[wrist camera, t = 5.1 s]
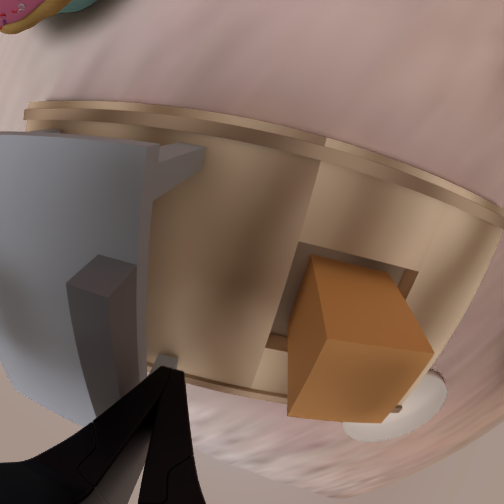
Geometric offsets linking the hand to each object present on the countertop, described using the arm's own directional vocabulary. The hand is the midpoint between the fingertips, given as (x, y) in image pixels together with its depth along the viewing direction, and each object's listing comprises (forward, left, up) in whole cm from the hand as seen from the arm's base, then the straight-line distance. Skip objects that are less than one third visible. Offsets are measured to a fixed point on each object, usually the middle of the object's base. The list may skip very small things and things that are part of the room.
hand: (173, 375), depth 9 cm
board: (-1, 0, -8) cm, 8 cm away
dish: (-16, +9, -8) cm, 20 cm away
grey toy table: (+6, 0, -6) cm, 8 cm away
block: (-7, 0, -8) cm, 10 cm away
